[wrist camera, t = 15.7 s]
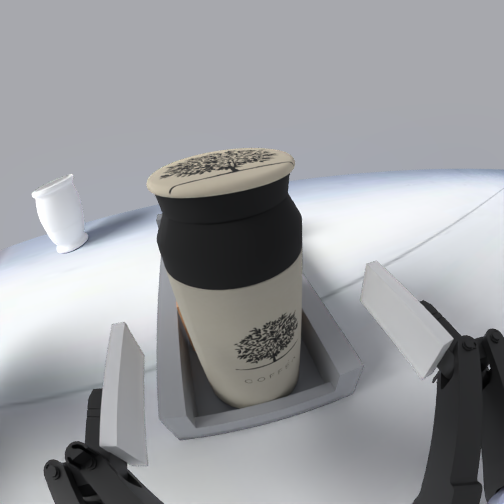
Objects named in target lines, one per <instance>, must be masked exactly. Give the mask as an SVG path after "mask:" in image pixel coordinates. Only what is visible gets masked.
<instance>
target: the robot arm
mask: <svg viewBox="0 0 504 504" xmlns="http://www.w3.org/2000/svg"><path fill="white" fill-rule="evenodd" d="M360 301H361V303H362V304H363V305H364V306H365V307H366V309H367V310H368V311H369V312H370V314H371V315H372V316H373V317H374V319H375V320H376V321H377V322H378V324H379V325H380V326H381V327H382V329H383V330H384V331H385V332H386V334H387V335H388V336H389V337H390V339H391V340H392V341H393V343H394V344H395V345H396V346H397V348H398V349H399V350H400V352H401V353H402V354H403V356H404V357H405V358H406V360H407V361H408V362H409V364H410V365H411V366H412V368H413V369H414V370H415V372H416V373H417V374H418V376H419V377H420V378H421V380H423V379H425V378H426V377H428V376H429V375H431V374H432V373H433V372H434V370H435V369H436V367H437V368H438V369H439V371H438V373H437V374H436V376H435V377H434V378H433V381H432V383H434V382H435V381H436V379H437V382H436V383H437V396H436V408H435V418H434V426H433V433H432V440H431V446H430V452H429V457H428V462H427V466H426V471H425V475H424V479H423V483H422V487H421V491H420V493H419V495H418V497H417V498H416V499H415V500H414V502H413V504H479V503H480V498H481V493H482V485H481V484H480V483H479V482H478V481H477V474H478V468H479V460H480V451H481V449H482V460H483V477H484V491H485V497H486V501H487V503H486V504H504V337H503V335H502V334H501V333H500V332H499V331H498V330H496V329H489V330H488V331H487V332H486V334H485V336H484V337H480V338H476V339H474V338H472V337H470V336H467V335H466V336H461V335H460V334H459V333H458V332H457V331H456V330H455V329H454V328H453V327H452V325H451V324H450V323H449V322H448V321H447V320H446V319H445V318H444V317H442V315H441V314H440V313H439V312H438V311H437V310H436V309H435V308H434V307H433V306H432V305H431V304H429V303H428V302H426V301H424V300H423V301H420V302H419V301H418V300H417V299H416V298H415V297H414V296H413V295H412V294H411V293H410V292H409V291H408V290H407V289H406V288H405V287H404V286H403V285H402V284H401V283H400V282H399V281H398V280H397V279H396V278H395V277H394V276H393V275H392V274H391V273H389V272H388V271H387V270H386V269H385V268H384V267H383V266H382V265H381V264H380V263H379V262H378V261H374V262H370V263H367V264H366V268H365V275H364V280H363V286H362V292H361V297H360ZM489 364H490V367H491V369H490V370H489V369H488V367H487V366H488V365H489ZM65 460H66V462H64V463H61V462H59V461H57V460H49V461H48V462H47V463H46V464H45V466H44V476H45V479H46V482H47V484H48V487H49V490H50V492H51V495H52V497H53V500H54V502H55V504H164V503H163V502H162V501H160V500H159V499H158V498H157V497H156V496H155V495H154V494H153V493H152V492H150V491H149V490H148V489H147V488H146V487H145V486H144V485H143V484H142V483H141V482H140V481H139V480H138V479H137V478H136V477H135V476H134V475H133V474H132V473H131V472H130V471H129V470H128V469H127V463H128V464H130V465H132V466H148V458H147V447H146V433H145V411H144V354H143V352H142V351H141V349H140V347H139V346H138V344H137V342H136V341H135V339H134V337H133V335H132V334H131V332H130V330H129V328H128V326H127V325H126V323H125V322H121V323H116V324H112V327H111V332H110V338H109V344H108V350H107V357H106V364H105V372H104V381H103V388H102V389H93V391H92V393H91V395H90V397H89V399H88V410H87V420H86V435H85V444H84V443H82V442H79V441H77V442H73V443H71V444H69V445H68V447H67V448H66V451H65Z"/></svg>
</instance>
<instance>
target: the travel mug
mask: <svg viewBox="0 0 504 504" xmlns="http://www.w3.org/2000/svg"><path fill="white" fill-rule="evenodd" d="M294 166H295V161H294V158H293V157H292V156H291V155H289V154H288V153H286V152H283V151H279V150H274V149H264V148H241V149H230V150H222V151H215V152H209V153H204V154H200V155H195V156H192V157H188V158H185V159H182V160H179V161H176V162H173V163H171V164H168V165H166V166H164V167H162V168H160V169H158V170H157V171H156V172H154V173H153V174H152V175H151V176H150V177H149V178H148V181H147V187H148V190H149V191H150V192H152V193H153V194H155V196H156V198H157V200H158V203H159V205H160V208H161V210H162V217H161V221H160V226H159V230H158V234H157V243H158V247H159V250H160V253H161V256H162V260H163V263H164V266H165V269H166V272H167V275H168V278H169V281H170V284H171V287H172V290H173V293H174V295H175V298H176V301H177V304H178V307H179V309H180V312H181V315H182V317H183V320H184V323H185V325H186V328H187V330H188V333H189V336H190V338H191V341H192V343H193V346H194V348H195V350H196V353H197V355H198V358H199V360H200V362H201V365H202V367H203V369H204V372H205V374H206V376H207V379H208V381H209V383H210V385H211V387H212V389H213V391H214V393H215V394H216V395H217V396H218V398H220V399H221V400H222V401H223V402H225V403H226V404H228V405H230V406H232V407H235V408H238V409H241V408H245V407H249V406H254V405H257V404H261V403H265V402H269V401H272V400H276V399H280V398H283V397H286V396H288V395H289V394H290V393H291V392H292V391H293V389H294V387H295V386H296V384H297V381H298V377H299V365H300V345H301V317H302V217H301V214H300V212H299V210H298V209H297V207H296V205H295V204H294V202H293V201H292V199H291V197H290V196H289V194H288V184H289V175H290V172H291V171H292V170H293V169H294Z"/></svg>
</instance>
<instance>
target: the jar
mask: <svg viewBox="0 0 504 504" xmlns="http://www.w3.org/2000/svg"><path fill="white" fill-rule="evenodd" d="M73 179H74V176H73V174H70V175H66V176H63V177H60V178H57V179H55V180H53V181H51V182H49V183H47V184H45V185H43V186H41V187H40V188H38V189H36V190H35V191H34V192H33V193H32V197H33V198H35V199H36V207H37V212H38V215H39V218H40V221H41V223H42V225H43V227H44V228H45V230H46V232H47V234H48V236H49V237H50V239H51V240H52V241H53V242H54V243H55V244H56V245H57V252H58V253H67V252H70V251H73V250H75V249H77V248H78V247H80V246H81V245H83V244H84V243H85V242H86V241H87V239H88V234H87V233H86V232H84V230H85V220H84V215H83V209H82V203H81V200H80V197H79V194H78V191H77V189H76V187H75V185H74V184H73V182H72V181H73Z"/></svg>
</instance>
